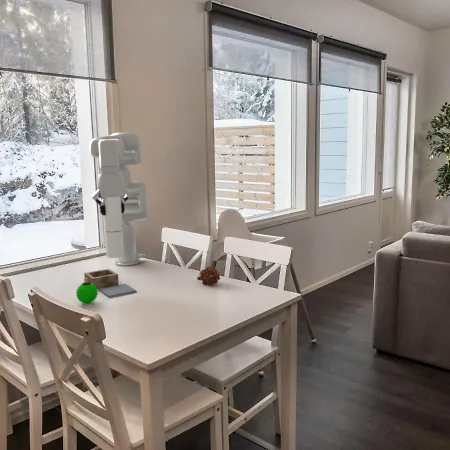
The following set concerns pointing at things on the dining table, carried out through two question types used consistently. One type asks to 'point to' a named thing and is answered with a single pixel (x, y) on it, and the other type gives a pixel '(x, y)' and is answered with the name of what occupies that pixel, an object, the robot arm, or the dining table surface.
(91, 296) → the ornament
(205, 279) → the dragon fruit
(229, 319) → the dining table surface
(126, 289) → the mat
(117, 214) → the cylindrical container
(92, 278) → the box
